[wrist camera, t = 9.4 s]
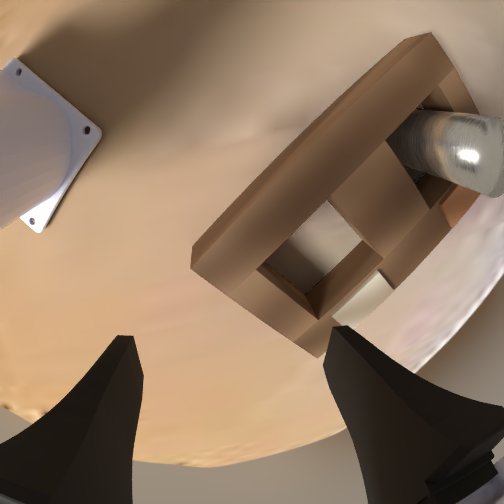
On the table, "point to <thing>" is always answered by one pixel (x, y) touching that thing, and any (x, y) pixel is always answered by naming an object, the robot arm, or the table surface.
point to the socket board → (343, 202)
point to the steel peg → (453, 148)
